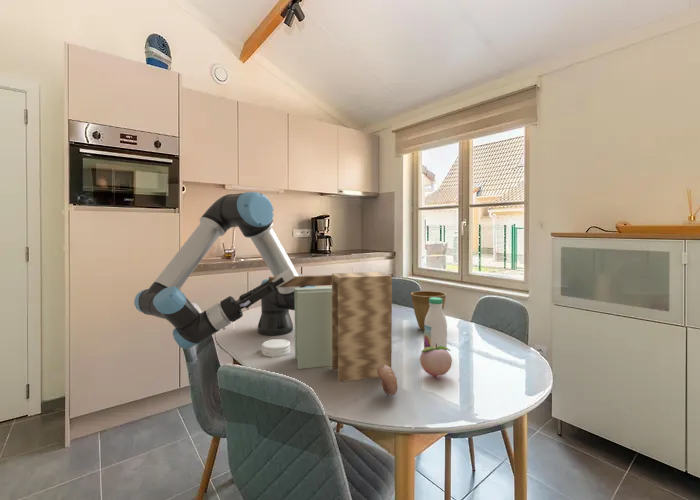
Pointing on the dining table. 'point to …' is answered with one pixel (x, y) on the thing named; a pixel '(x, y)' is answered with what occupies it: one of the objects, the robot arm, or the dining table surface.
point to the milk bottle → (435, 324)
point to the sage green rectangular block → (313, 327)
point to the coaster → (275, 347)
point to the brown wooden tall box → (361, 324)
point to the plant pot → (424, 304)
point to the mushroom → (387, 379)
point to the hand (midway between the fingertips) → (291, 273)
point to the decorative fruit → (436, 360)
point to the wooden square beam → (307, 281)
